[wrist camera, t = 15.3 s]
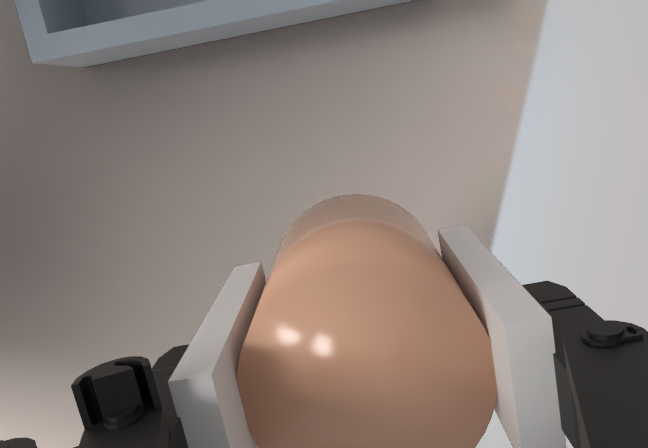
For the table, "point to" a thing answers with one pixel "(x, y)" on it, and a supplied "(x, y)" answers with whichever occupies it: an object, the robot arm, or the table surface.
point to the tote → (157, 24)
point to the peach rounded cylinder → (364, 338)
